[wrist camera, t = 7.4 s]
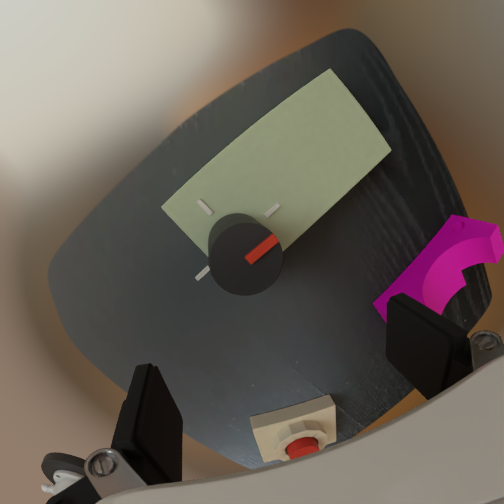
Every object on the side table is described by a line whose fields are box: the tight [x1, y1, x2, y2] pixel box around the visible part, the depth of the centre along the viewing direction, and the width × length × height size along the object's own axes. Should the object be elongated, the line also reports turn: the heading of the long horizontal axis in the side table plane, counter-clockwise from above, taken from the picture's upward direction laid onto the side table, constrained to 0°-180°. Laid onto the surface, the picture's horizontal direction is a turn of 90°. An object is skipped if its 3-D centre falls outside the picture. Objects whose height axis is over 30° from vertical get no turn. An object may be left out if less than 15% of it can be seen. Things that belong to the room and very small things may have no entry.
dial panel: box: [161, 69, 391, 281], centre depth 23 cm, size 20×10×3 cm, turn 131°
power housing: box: [250, 394, 336, 463], centre depth 30 cm, size 10×8×4 cm
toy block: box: [373, 215, 504, 324], centre depth 26 cm, size 15×6×8 cm, turn 131°
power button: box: [287, 437, 320, 460], centre depth 28 cm, size 4×4×2 cm
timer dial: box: [208, 213, 283, 295], centre depth 19 cm, size 4×4×6 cm
